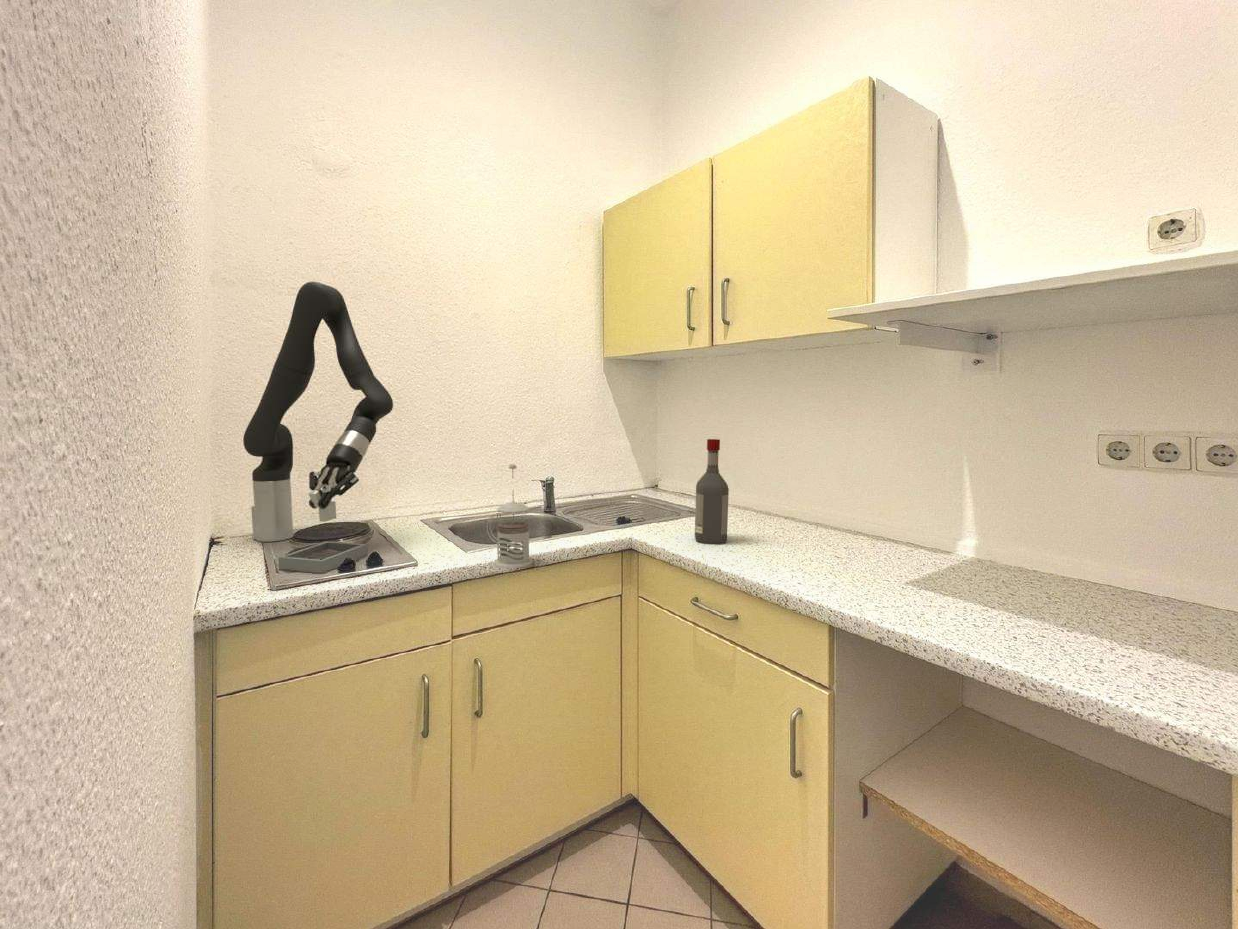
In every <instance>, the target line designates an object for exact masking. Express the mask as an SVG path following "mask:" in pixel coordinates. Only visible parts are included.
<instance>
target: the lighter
mask: <svg viewBox="0 0 1238 929" xmlns="http://www.w3.org/2000/svg"><path fill="white" fill-rule="evenodd" d="M308 496H309V498H310V499H311V500H312V502H313V505H314V507H317V508H318V516H319V517H318V518H319V522H329V521H333V520H335V519H337V506H336V505H337V504H336V503H337V502H336V501H334V500H331V501H330V503H329V505H328V506H327V507H326V508H325V509H321V508H320V507H319V506H318V502H319V501H320V499H321V496H320V494H319V491H316V490H311V491H310V492H309V493H308Z"/></svg>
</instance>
